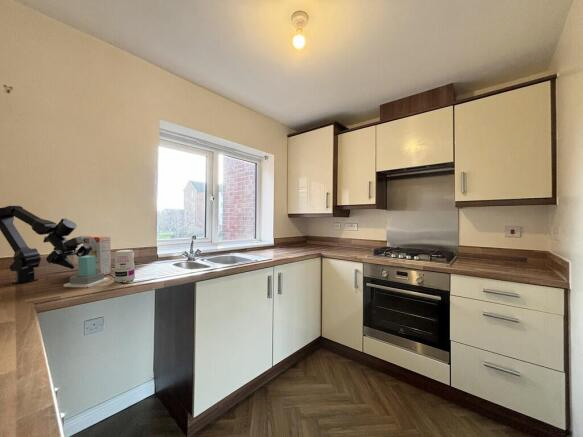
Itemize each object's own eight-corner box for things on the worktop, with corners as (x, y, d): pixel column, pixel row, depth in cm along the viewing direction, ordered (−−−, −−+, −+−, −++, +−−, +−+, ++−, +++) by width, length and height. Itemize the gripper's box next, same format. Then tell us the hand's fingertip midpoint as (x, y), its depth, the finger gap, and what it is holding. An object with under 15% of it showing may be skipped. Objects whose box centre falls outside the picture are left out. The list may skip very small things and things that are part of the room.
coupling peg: (79, 282, 119) (78, 257, 118) (87, 279, 123) (86, 255, 123) (88, 282, 119) (87, 257, 118) (95, 279, 123) (95, 255, 122)
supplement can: (131, 277, 131) (130, 248, 131) (137, 280, 126) (136, 250, 126) (112, 280, 125) (112, 250, 124) (118, 284, 120) (117, 253, 119)
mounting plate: (63, 286, 115) (63, 278, 115) (86, 279, 127) (86, 271, 127) (88, 287, 115) (88, 278, 114) (109, 279, 127) (109, 272, 126)
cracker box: (83, 273, 138) (82, 235, 137) (95, 271, 143) (94, 234, 142) (100, 276, 133) (98, 237, 132) (111, 273, 138) (110, 235, 137)
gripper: (51, 233, 111) (75, 258, 111) (88, 229, 130) (108, 251, 129) (35, 250, 112) (59, 275, 112) (74, 244, 131) (94, 265, 130)
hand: (82, 266), depth 121 cm, fingers open, 9 cm apart
